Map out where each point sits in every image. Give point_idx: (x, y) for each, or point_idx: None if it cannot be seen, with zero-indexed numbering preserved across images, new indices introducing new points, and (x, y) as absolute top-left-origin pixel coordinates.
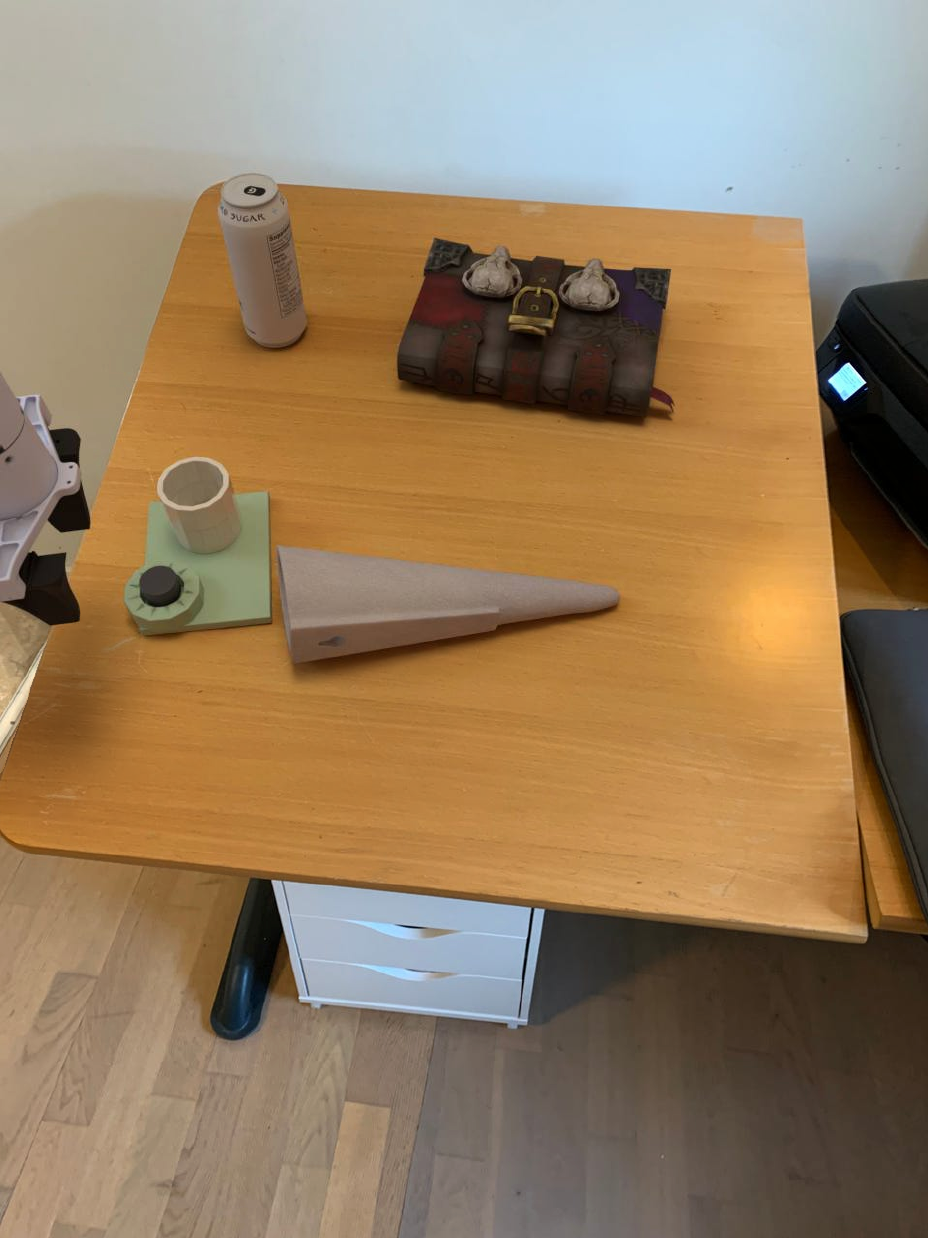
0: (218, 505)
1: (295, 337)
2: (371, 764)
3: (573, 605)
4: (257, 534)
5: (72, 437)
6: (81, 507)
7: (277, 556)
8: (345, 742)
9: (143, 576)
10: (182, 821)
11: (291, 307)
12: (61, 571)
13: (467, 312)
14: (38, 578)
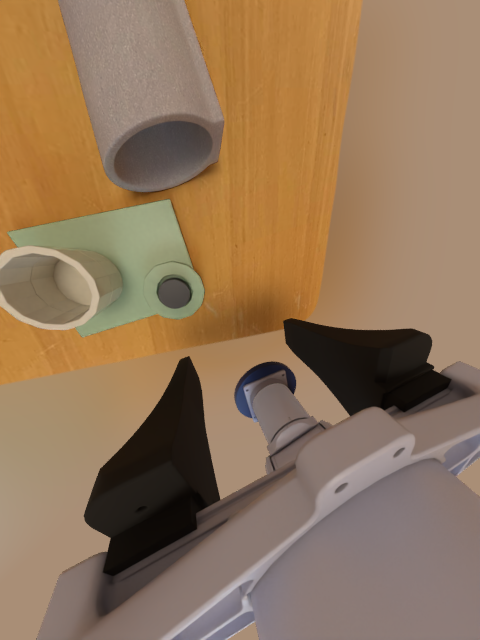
0: (69, 254)
1: None
2: (279, 88)
3: None
4: (77, 230)
5: (116, 497)
6: (188, 375)
7: (114, 172)
8: (263, 115)
9: (173, 306)
10: (312, 234)
11: None
12: (420, 337)
13: None
14: (418, 361)
